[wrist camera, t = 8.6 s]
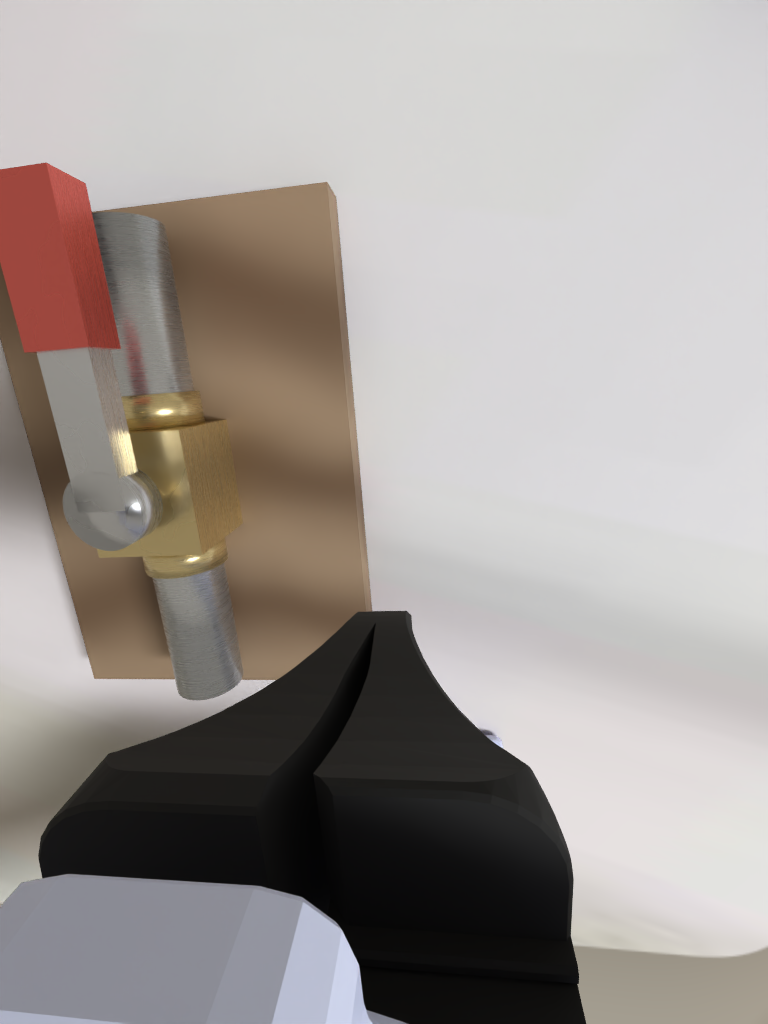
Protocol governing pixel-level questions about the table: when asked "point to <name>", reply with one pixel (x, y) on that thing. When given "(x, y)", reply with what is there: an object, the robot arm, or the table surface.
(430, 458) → the table surface
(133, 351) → the valve housing
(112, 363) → the lever
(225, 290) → the mounting board
